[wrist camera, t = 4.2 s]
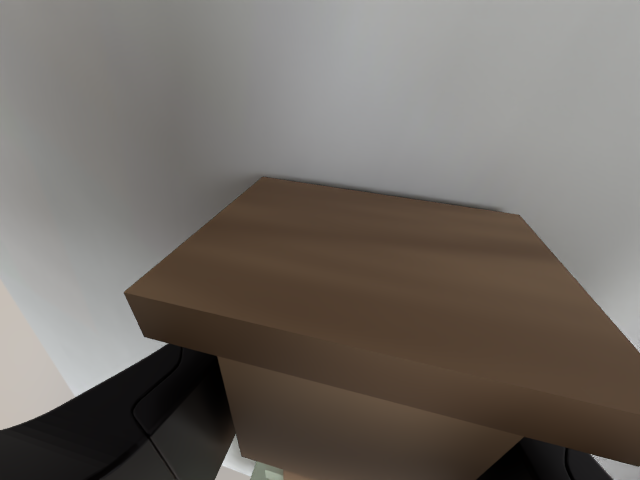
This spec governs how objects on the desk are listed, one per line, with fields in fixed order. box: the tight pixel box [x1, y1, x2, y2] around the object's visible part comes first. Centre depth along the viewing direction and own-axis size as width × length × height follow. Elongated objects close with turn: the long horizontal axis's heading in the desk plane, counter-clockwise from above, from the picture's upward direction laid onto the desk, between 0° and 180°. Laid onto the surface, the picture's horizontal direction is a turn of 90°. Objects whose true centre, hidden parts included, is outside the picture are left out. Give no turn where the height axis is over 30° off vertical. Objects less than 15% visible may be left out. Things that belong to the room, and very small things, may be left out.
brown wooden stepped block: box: [124, 177, 640, 480], centre depth 10 cm, size 18×7×5 cm, turn 176°
